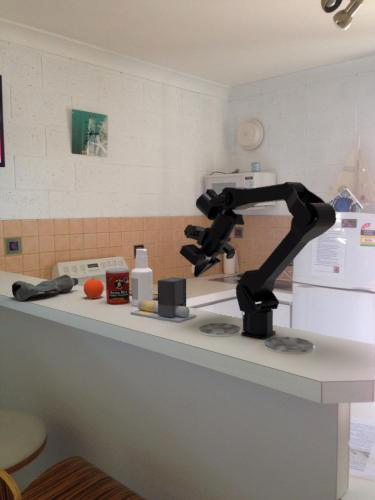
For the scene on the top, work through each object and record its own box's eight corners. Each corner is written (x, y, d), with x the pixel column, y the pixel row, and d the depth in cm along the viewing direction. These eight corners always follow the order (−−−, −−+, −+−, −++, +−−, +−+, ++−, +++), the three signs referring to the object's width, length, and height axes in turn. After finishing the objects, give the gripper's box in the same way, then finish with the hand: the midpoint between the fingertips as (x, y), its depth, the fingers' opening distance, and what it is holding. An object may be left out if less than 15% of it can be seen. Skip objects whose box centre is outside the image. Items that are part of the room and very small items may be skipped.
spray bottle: (141, 301, 155) (140, 247, 153) (157, 303, 151) (156, 248, 149) (127, 305, 149) (126, 249, 147) (143, 307, 145) (142, 250, 143)
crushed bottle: (23, 303, 153) (88, 291, 170) (21, 282, 152) (86, 272, 170) (6, 301, 162) (69, 290, 180) (4, 281, 162) (67, 271, 179)
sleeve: (186, 312, 134) (186, 278, 133) (171, 317, 128) (171, 282, 127) (172, 310, 137) (172, 277, 136) (158, 314, 131) (157, 280, 130)
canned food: (107, 305, 149) (106, 271, 148) (105, 300, 156) (104, 268, 155) (131, 304, 151) (130, 270, 150) (127, 299, 158) (127, 267, 157)
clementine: (102, 294, 166) (101, 275, 166) (110, 298, 161) (109, 277, 160) (80, 297, 162) (80, 277, 161) (88, 300, 156) (87, 280, 156)
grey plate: (196, 317, 133) (196, 304, 132) (179, 322, 126) (179, 309, 126) (148, 309, 143) (148, 297, 143) (130, 314, 137) (130, 302, 136)
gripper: (218, 212, 133) (195, 255, 140) (178, 214, 119) (154, 262, 125) (247, 234, 128) (221, 278, 135) (208, 239, 113) (182, 288, 120)
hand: (195, 276), depth 129 cm, fingers closed
